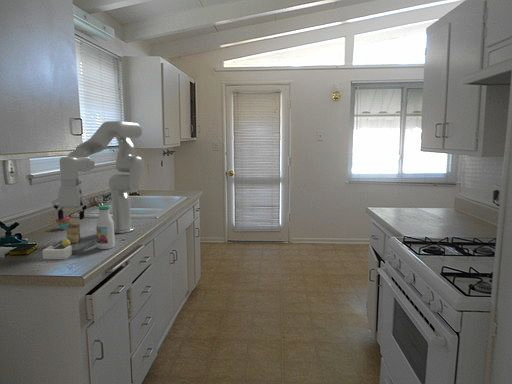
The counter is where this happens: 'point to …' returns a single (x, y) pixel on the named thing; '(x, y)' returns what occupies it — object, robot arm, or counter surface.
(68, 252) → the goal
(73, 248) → the rails
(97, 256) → the counter surface
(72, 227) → the slider
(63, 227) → the cupcake
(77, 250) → the deck
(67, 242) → the ball
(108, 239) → the milk bottle
